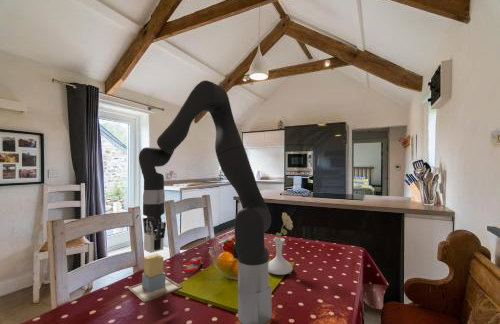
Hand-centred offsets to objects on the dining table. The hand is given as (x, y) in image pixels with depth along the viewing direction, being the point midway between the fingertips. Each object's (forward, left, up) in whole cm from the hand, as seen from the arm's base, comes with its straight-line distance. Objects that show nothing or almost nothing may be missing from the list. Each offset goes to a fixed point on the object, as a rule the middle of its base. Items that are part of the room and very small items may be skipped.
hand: (153, 247), depth 93 cm
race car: (+5, -20, -16) cm, 26 cm away
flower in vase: (-24, -45, -16) cm, 53 cm away
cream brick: (0, 0, -1) cm, 1 cm away
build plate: (-1, 0, -15) cm, 15 cm away
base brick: (0, 0, -14) cm, 14 cm away
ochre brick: (0, 0, -9) cm, 9 cm away
